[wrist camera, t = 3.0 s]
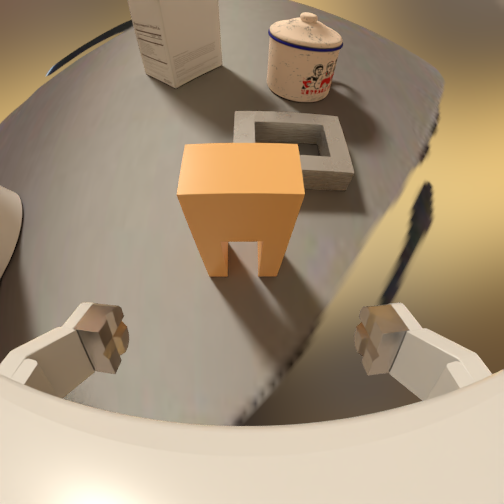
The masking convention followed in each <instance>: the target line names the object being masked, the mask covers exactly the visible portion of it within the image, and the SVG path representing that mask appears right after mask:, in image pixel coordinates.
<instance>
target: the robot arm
mask: <svg viewBox="0 0 504 504" xmlns="http://www.w3.org/2000/svg"><path fill="white" fill-rule="evenodd" d="M21 221H22V204H21V200H20V198H19V196H18V195H17V194H16V193H15V192H13V191H10V190H8V189H6V188H4V187H2V186H0V279H1V276H2V274H3V272H4V270H5V268H6V266H7V265H8V263H9V261H10V258H11V256H12V254H13V251H14V249H15V246H16V243H17V240H18V236H19V232H20V228H21ZM123 317H124V315H123V312H122V308H121V307H119V306H116V305H107V304H98V303H87V302H84V303H81V304H80V305H79V306H78V308H77V309H76V310H75V311H74V312H73V314H72V315H71V316H70V317H69V319H68V320H67V321H66V322H65V324H64V325H63V326H62V327H57V328H55V329H53V330H51V331H49V332H47V333H45V334H43V335H41V336H39V337H37V338H35V339H33V340H31V341H29V342H27V343H25V344H23V345H21V346H19V347H17V348H15V349H14V350H12V351H10V352H9V354H8V355H7V356H6V357H5V359H4V360H3V361H2V363H1V364H0V504H504V369H503V370H501V371H499V372H497V373H495V374H493V375H492V374H491V372H490V371H489V369H488V368H487V367H486V366H485V364H484V363H483V361H482V360H481V359H480V357H479V356H478V355H477V354H476V353H474V352H472V351H470V350H468V349H466V348H464V347H462V346H460V345H458V344H456V343H454V342H452V341H450V340H448V339H446V338H444V337H442V336H441V335H439V334H437V333H435V332H433V331H431V330H429V329H426V328H425V329H422V327H421V326H420V325H419V323H418V322H417V321H416V319H415V318H414V317H413V316H412V314H411V313H410V312H409V310H408V309H407V308H406V307H405V305H404V304H402V303H394V304H388V305H377V306H366V307H363V308H362V309H361V311H360V315H359V318H360V320H361V323H360V324H359V325H358V326H357V327H356V330H355V335H354V343H355V348H356V350H357V353H358V354H360V355H361V356H363V360H362V364H363V366H364V369H365V371H366V373H367V375H375V374H382V373H389V372H390V373H389V374H390V375H392V376H393V377H394V378H395V379H397V380H398V381H399V382H400V383H402V384H403V385H404V386H405V387H407V388H408V389H409V390H410V391H411V392H413V393H414V394H415V395H416V396H418V397H419V398H420V399H421V400H422V401H421V402H417V403H414V404H411V405H406V406H403V407H399V408H395V409H391V410H386V411H383V412H378V413H373V414H368V415H363V416H357V417H351V418H345V419H339V420H332V421H324V422H315V423H306V424H293V425H278V426H215V425H199V424H187V423H177V422H169V421H161V420H154V419H147V418H141V417H135V416H130V415H125V414H120V413H115V412H111V411H106V410H102V409H98V408H94V407H90V406H86V405H83V404H79V403H76V402H72V401H69V400H66V399H63V397H65V396H66V395H67V394H68V393H70V392H71V391H72V390H73V389H75V388H76V387H77V386H78V385H79V384H81V383H82V382H83V381H84V380H86V379H87V378H88V377H89V376H91V375H92V374H93V373H94V372H95V371H98V372H105V373H111V374H116V372H117V369H118V367H119V365H120V363H121V358H120V355H122V354H123V353H125V352H126V350H127V348H128V344H129V332H128V328H127V326H126V325H125V324H124V323H123V322H122V319H123Z"/></svg>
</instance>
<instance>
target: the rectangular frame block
mask: <svg viewBox="0 0 504 504" xmlns="http://www.w3.org/2000/svg"><path fill="white" fill-rule="evenodd" d="M255 142H287V143H306V144H317V145H318V150H319V155H320V156H311V155H300V162H301V169H302V176H303V183H304V189H315V190H336V191H345V190H346V189H347V187H348V185H349V183H350V181H351V179H352V177H353V175H354V169H353V165H352V162H351V158H350V155H349V151H348V148H347V144H346V141H345V138H344V135H343V131H342V128H341V125H340V122H339V119H338V116H329V115H319V114H308V113H294V112H274V111H235V117H234V139H233V143H255Z"/></svg>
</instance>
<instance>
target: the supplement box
mask: <svg viewBox="0 0 504 504" xmlns="http://www.w3.org/2000/svg"><path fill="white" fill-rule="evenodd" d="M128 5H129V9H130V13H131V17H132V22H133V26H134V30H135V34H136V38H137V42H138V46H139V49H140V53H141V57H142V61H143V64H144V68H145V72H146V74H148V75H150V76H152V77H154V78H156V79H158V80H160V81H162V82H164V83H166V84H168V85H170V86H172V87H174V88H178V87H179V86H181V85H183V84H185V83H187V82H189V81H190V80H192V79H194V78H196V77H198V76H200V75H202V74H204V73H206V72H208V71H210V70H212V69H214V68H217V67H219V66H221V65H222V53H221V37H220V22H219V6H218V0H128Z"/></svg>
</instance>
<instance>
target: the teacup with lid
mask: <svg viewBox="0 0 504 504" xmlns="http://www.w3.org/2000/svg"><path fill="white" fill-rule="evenodd" d="M268 33H269V36H270V45H269V59H268V73H267V84H268V86H269V88H270V89H271V90H272V91H273V92H274V93H275V94H277V95H279V96H281V97H283V98H285V99H288V100H292V101H297V102H315V101H319V100H321V99H323V98H325V97H326V96H327V95H328V93H329V89H330V86H331V82H332V78H333V74H334V70H335V66H336V62H337V58H338V54H339V50H340V49H341V48H342V46H343V42H342V38H341V36H340V35H339V34H338V33H337V32H336V31H334V30H333V29H331V28H329V27H326V26H325V25H324V24H322V23H321V22H319V21H317V16H316V15H315V14H312V13H307V12H305V13H302V14H301V15H300V18H294V19H291V20H283V21H278V22H276V23H274V24H273V25H272V26H271V27H270V29H269V31H268Z"/></svg>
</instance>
